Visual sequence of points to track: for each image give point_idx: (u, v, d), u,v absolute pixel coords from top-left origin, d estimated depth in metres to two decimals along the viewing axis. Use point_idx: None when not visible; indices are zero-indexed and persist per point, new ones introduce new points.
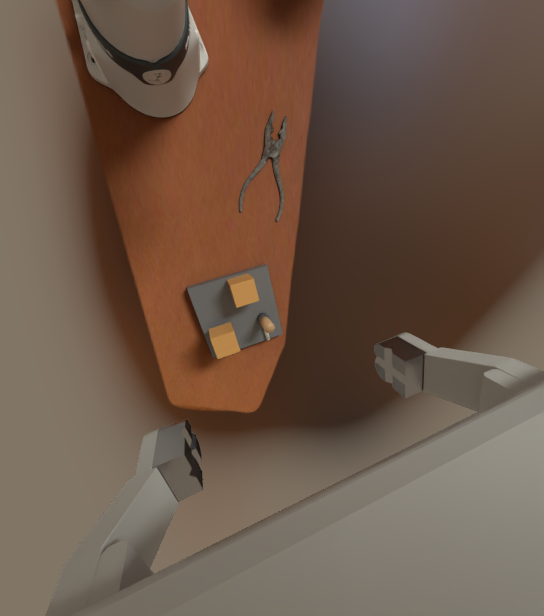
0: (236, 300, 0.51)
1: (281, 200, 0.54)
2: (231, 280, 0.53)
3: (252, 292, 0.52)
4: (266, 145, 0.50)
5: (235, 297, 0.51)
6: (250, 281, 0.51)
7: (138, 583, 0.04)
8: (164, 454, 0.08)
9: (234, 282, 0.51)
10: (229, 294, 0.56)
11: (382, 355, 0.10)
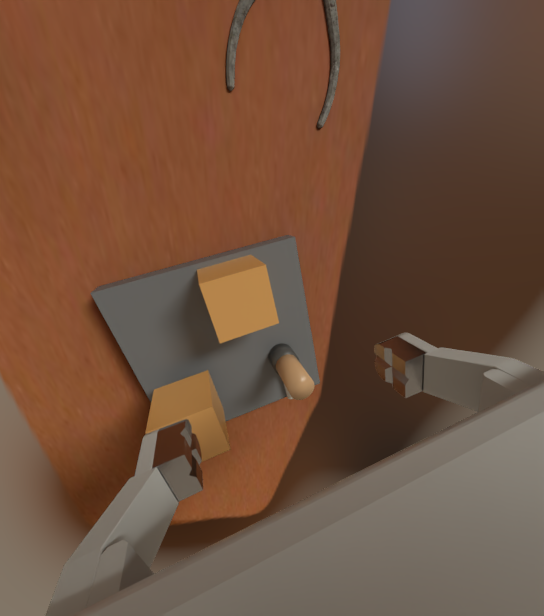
0: (218, 324, 0.19)
1: (334, 68, 0.21)
2: (207, 271, 0.21)
3: (261, 302, 0.19)
4: None
5: (215, 316, 0.19)
6: (257, 273, 0.18)
7: (138, 583, 0.04)
8: (164, 454, 0.08)
9: (213, 275, 0.19)
10: (205, 305, 0.23)
11: (382, 355, 0.10)
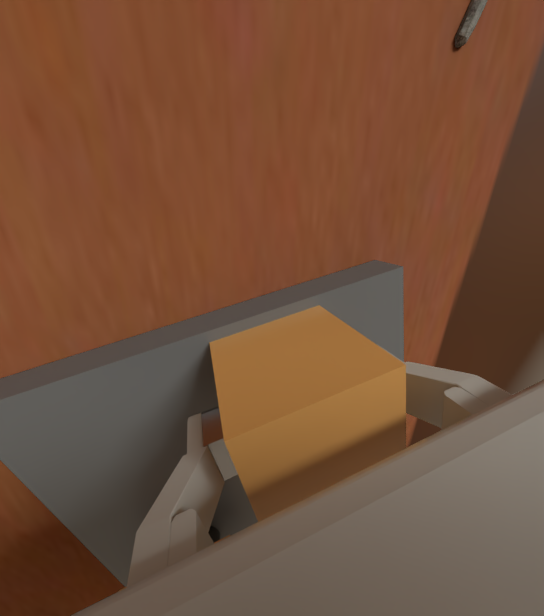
0: None
1: None
2: (235, 355, 0.09)
3: (379, 450, 0.08)
4: None
5: (266, 504, 0.07)
6: (381, 388, 0.07)
7: (138, 583, 0.04)
8: (212, 434, 0.08)
9: (258, 390, 0.07)
10: None
11: None
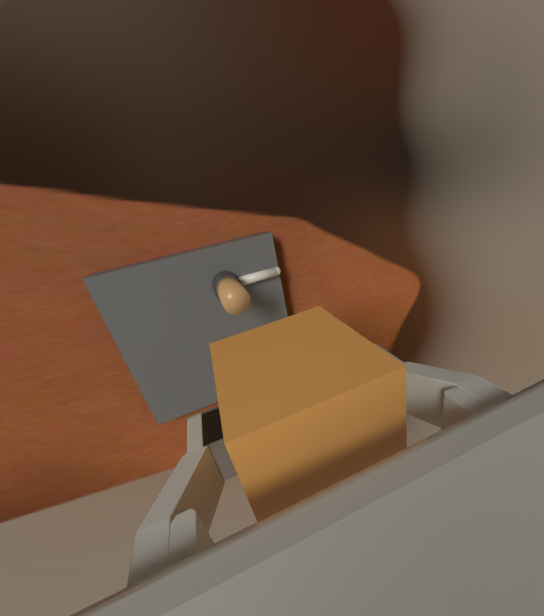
0: None
1: None
2: (235, 357, 0.09)
3: (379, 451, 0.08)
4: None
5: (266, 505, 0.07)
6: (381, 389, 0.07)
7: (138, 583, 0.04)
8: (213, 434, 0.08)
9: (258, 392, 0.07)
10: (167, 356, 0.27)
11: None
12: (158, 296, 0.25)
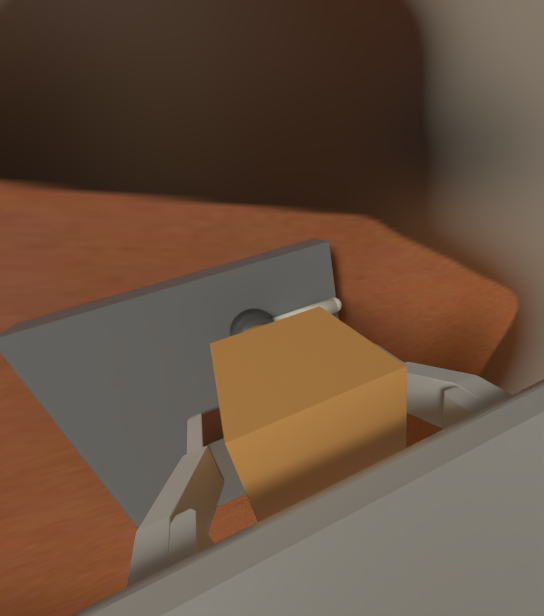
0: None
1: None
2: (235, 357, 0.09)
3: (379, 451, 0.08)
4: None
5: (266, 505, 0.07)
6: (382, 389, 0.07)
7: (138, 583, 0.04)
8: (212, 434, 0.08)
9: (258, 392, 0.07)
10: (157, 446, 0.16)
11: None
12: (138, 358, 0.14)
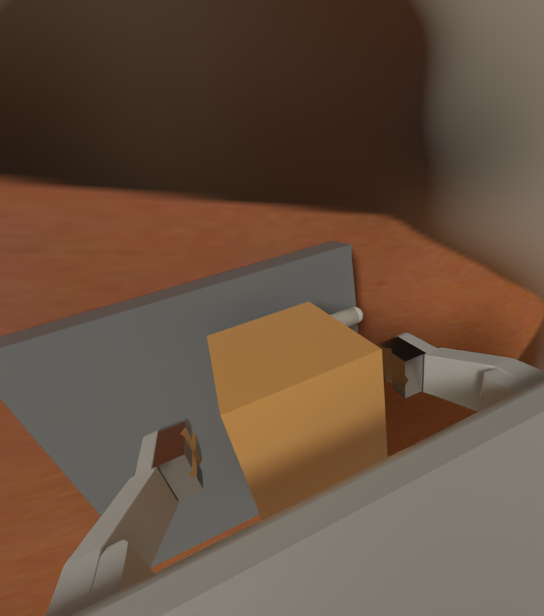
0: (264, 490, 0.08)
1: None
2: (230, 346, 0.10)
3: (361, 429, 0.08)
4: None
5: (258, 476, 0.08)
6: (360, 370, 0.08)
7: (138, 583, 0.04)
8: (164, 454, 0.08)
9: (251, 374, 0.08)
10: None
11: (382, 355, 0.10)
12: (136, 375, 0.13)
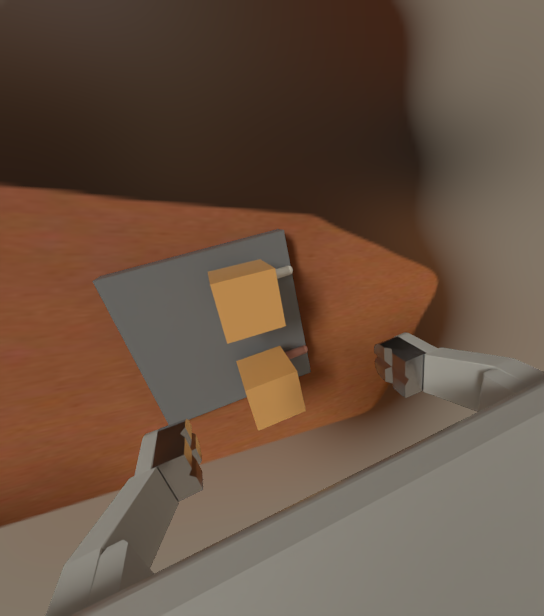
0: (227, 325, 0.19)
1: None
2: (217, 273, 0.21)
3: (269, 305, 0.20)
4: None
5: (224, 317, 0.19)
6: (266, 275, 0.19)
7: (138, 583, 0.04)
8: (164, 454, 0.08)
9: (223, 277, 0.19)
10: (178, 358, 0.26)
11: (382, 355, 0.10)
12: (168, 297, 0.24)
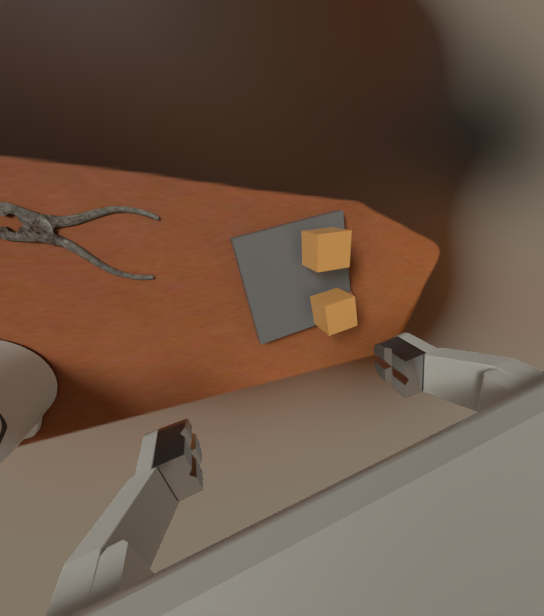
0: (320, 260, 0.33)
1: (122, 210, 0.32)
2: (311, 231, 0.35)
3: (344, 252, 0.34)
4: (36, 239, 0.30)
5: (320, 255, 0.33)
6: (346, 234, 0.33)
7: (138, 583, 0.04)
8: (164, 454, 0.08)
9: (321, 232, 0.33)
10: (272, 294, 0.40)
11: (382, 355, 0.10)
12: (272, 252, 0.38)
